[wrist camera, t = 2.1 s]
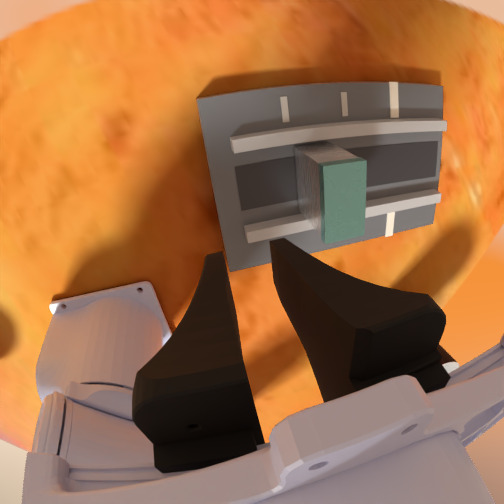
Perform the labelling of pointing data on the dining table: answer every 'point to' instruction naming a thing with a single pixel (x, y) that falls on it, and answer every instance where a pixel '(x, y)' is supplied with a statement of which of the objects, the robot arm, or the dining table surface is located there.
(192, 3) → the dining table surface
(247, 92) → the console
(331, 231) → the fader tab
